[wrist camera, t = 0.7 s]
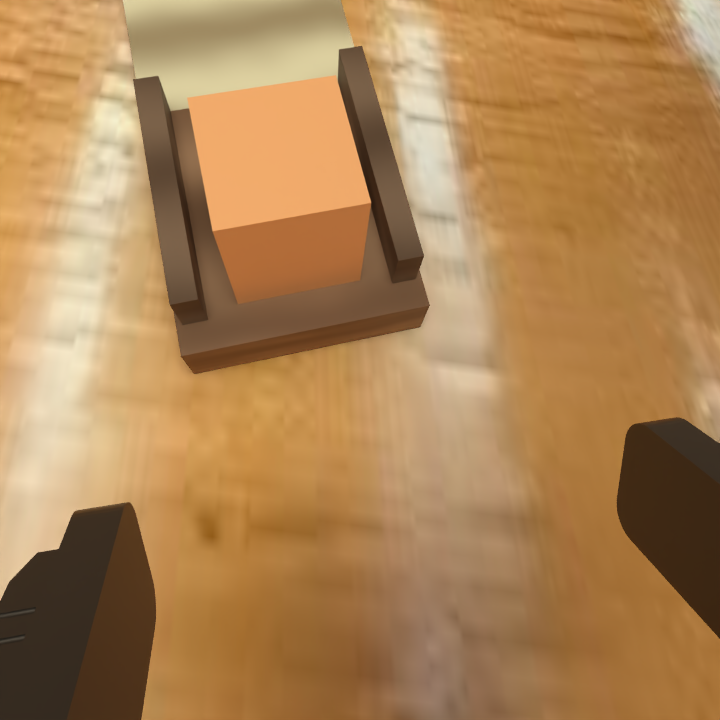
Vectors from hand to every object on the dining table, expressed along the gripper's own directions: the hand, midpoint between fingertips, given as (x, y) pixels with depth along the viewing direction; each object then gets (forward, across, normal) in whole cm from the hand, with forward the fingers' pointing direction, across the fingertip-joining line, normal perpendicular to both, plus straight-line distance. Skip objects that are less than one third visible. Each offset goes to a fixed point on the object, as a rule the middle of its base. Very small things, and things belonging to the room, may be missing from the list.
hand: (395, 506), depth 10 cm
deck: (+32, +1, -6) cm, 32 cm away
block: (+22, 0, 0) cm, 22 cm away
